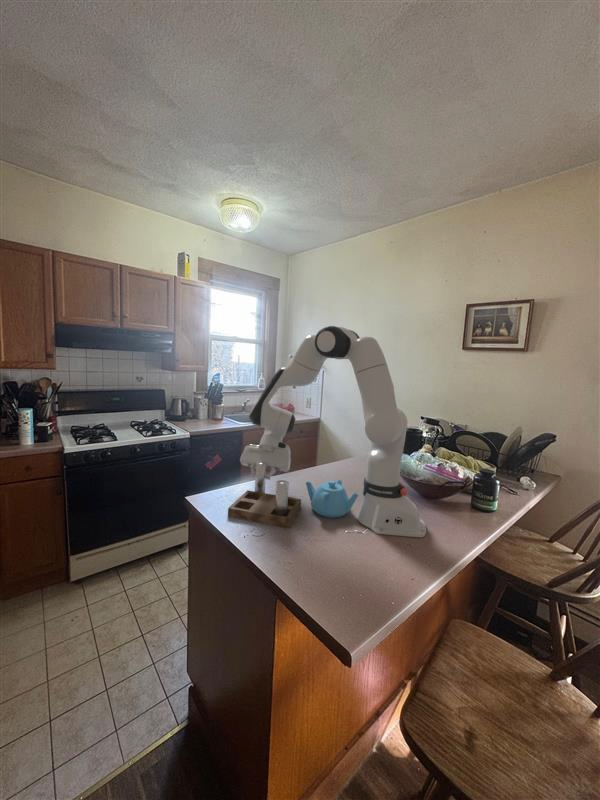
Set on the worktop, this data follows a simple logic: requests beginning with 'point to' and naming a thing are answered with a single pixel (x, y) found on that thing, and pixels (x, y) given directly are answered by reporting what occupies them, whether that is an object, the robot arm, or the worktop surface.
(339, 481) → the teapot
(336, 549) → the worktop surface
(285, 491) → the pin
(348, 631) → the worktop surface
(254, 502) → the socket board
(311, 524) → the worktop surface
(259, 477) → the pin
